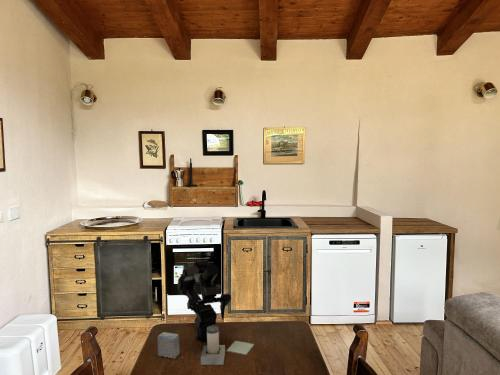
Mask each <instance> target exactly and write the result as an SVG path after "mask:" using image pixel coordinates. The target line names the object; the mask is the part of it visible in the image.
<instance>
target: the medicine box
mask: <svg viewBox="0 0 500 375" xmlns="http://www.w3.org/2000/svg"><path fill="white" fill-rule="evenodd" d="M179 335H180V334H179V333H171V332H165V331H163V332H162V333H160V334H159V335H157V337H156V338H157V356H158V357H162V356H163V358H167V357H168V358H169V359H176V358H177V356H179V354H180V336H179Z"/></svg>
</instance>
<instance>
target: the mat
mask: <svg viewBox="0 0 500 375" xmlns="http://www.w3.org/2000/svg"><path fill="white" fill-rule="evenodd" d="M254 345H255V343H249V342H245V341H239V340H235V341H233V342H232V344H231V345H230V346H229V347H228V349H226V352H229V353H234V354H239V355H242V356H243V355H244V356H247V355H248V354H249V352H250V351H251V350H252V349H253V347H254Z"/></svg>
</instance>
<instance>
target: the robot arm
mask: <svg viewBox="0 0 500 375" xmlns="http://www.w3.org/2000/svg"><path fill="white" fill-rule="evenodd" d="M181 273H182V274H181V275H180V276H179V277H178V280H177V290H178V291H179V293H180V294H181V295H182V296H186V297H187V303H186V306H187V309H188V310H190V311H193V313H194V314H195V315H196V317H195V318H194V319H193V320H194V326H195V327H197V337H196V338H195V339H196V340H197V341H203V342H207V327H209V326H212V325H216V322H217V317H218V316H217V312H216V311H215V309H214V307H213V306H212V305H211V304H214V303H220V304H219V308H220V309H219V310H220V315H221V316H220V317H221V319H222V320H224V318H225V309H226V306H228V304H229V305H230V303H231V301H232V295H231V294H230V293H222V294H220V297H217V295H218V293H221V292H222V287H221V284H219V283H218V284H215V286H214V283H213V281H214V280H215V279H216V277H217V276H218V274H219V273H220V268H219V267H218V266H217V265H216V264H214V263H213V261H209V260H208V259H202V260H195V261H193V263H192V264H191V266H189V267H187V268H184V269H182V271H181ZM198 274H199V277H198V282H199V285H200V294H201V297H200V295H199V293H198V292H197V291H196V283H197V282H196V281H197V280H196V279H195V277H194V276H195V275H198ZM187 277H188V278H189V277H192V278H190V279H186V278H187Z"/></svg>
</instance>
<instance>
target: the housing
mask: <svg viewBox="0 0 500 375" xmlns="http://www.w3.org/2000/svg"><path fill="white" fill-rule="evenodd" d="M225 355H226V344H219V354H207V344H206V345H203V346H202V351H201V355H200V365H201V366H223V365H225V364H224V363H225V357H226V356H225Z"/></svg>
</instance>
